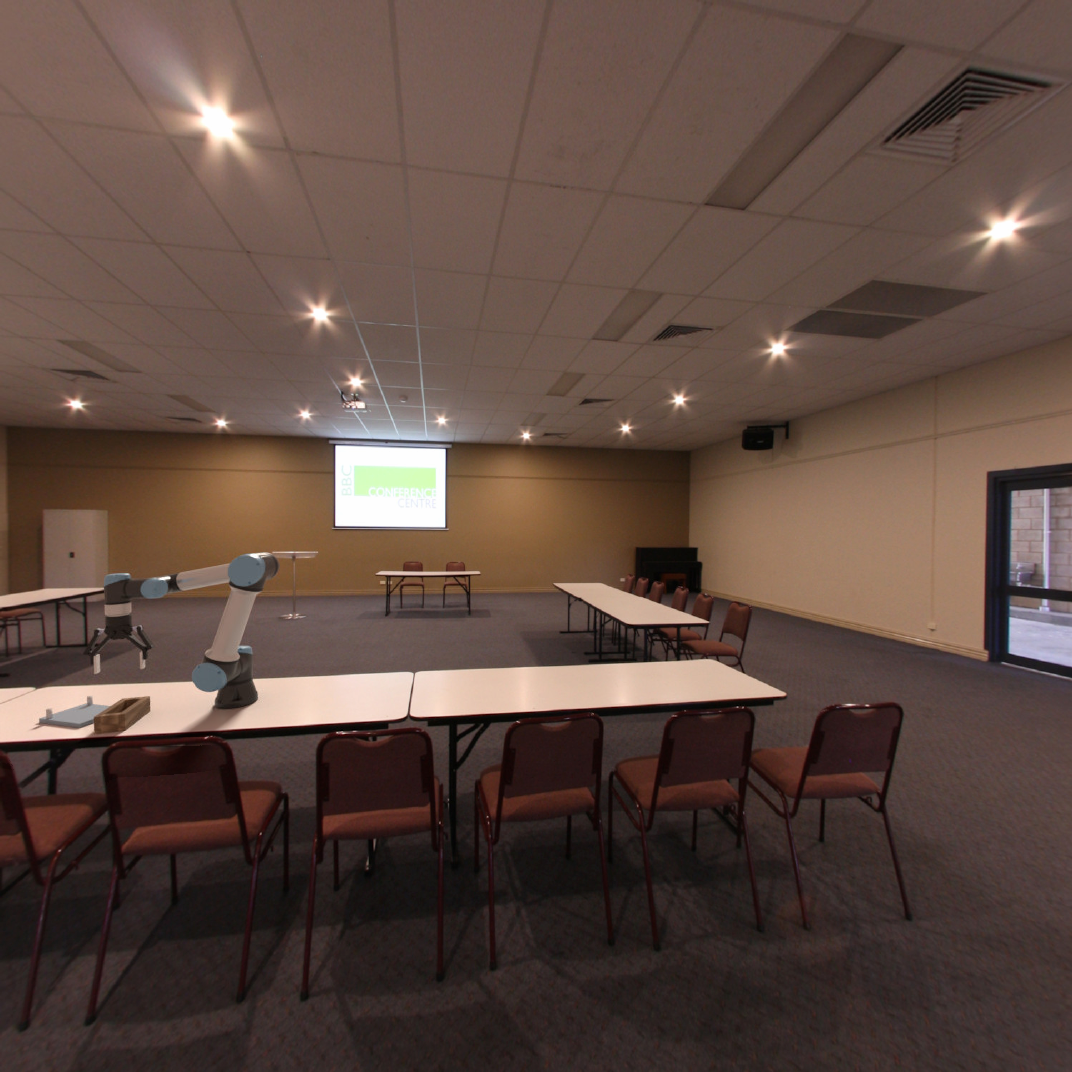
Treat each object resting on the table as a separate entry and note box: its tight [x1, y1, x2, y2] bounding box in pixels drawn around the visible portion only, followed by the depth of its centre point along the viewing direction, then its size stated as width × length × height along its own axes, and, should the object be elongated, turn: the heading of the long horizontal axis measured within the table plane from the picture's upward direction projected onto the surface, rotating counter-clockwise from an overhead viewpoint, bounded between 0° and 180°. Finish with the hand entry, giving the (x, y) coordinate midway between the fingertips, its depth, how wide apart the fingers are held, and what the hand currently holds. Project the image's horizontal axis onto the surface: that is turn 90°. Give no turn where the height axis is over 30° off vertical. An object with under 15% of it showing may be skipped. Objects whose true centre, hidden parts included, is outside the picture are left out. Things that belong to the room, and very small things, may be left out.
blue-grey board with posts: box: [38, 695, 111, 729], centre depth 178 cm, size 20×15×5 cm
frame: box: [93, 695, 151, 735], centre depth 174 cm, size 9×18×6 cm, turn 17°
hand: (120, 670), depth 177 cm, fingers open, 13 cm apart
